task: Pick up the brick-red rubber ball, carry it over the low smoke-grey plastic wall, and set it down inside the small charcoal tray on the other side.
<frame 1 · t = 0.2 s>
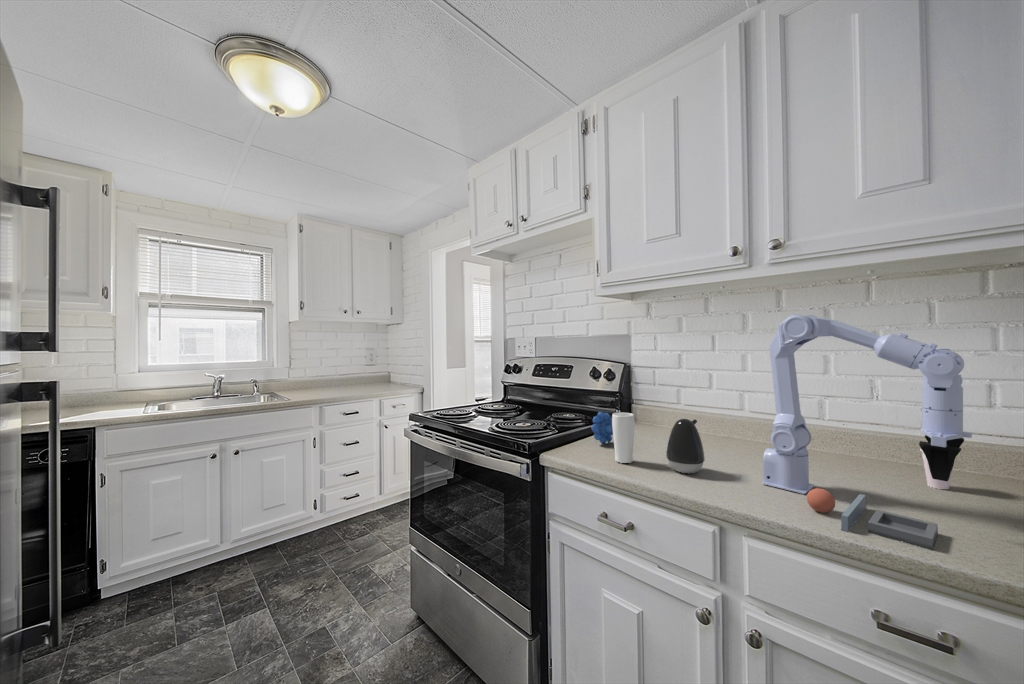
hand: (942, 475, 82), 10 cm above the worktop, tool pointing down, fingers open, 7 cm apart
low wall: (854, 518, 85), on the worktop
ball: (820, 500, 88), point 2 cm above the worktop
grapes: (605, 444, 146), on the worktop
smoothie: (938, 487, 101), on the worktop
black egg-shaped device: (685, 471, 116), on the worktop
tray: (902, 533, 78), on the worktop
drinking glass: (623, 462, 126), on the worktop
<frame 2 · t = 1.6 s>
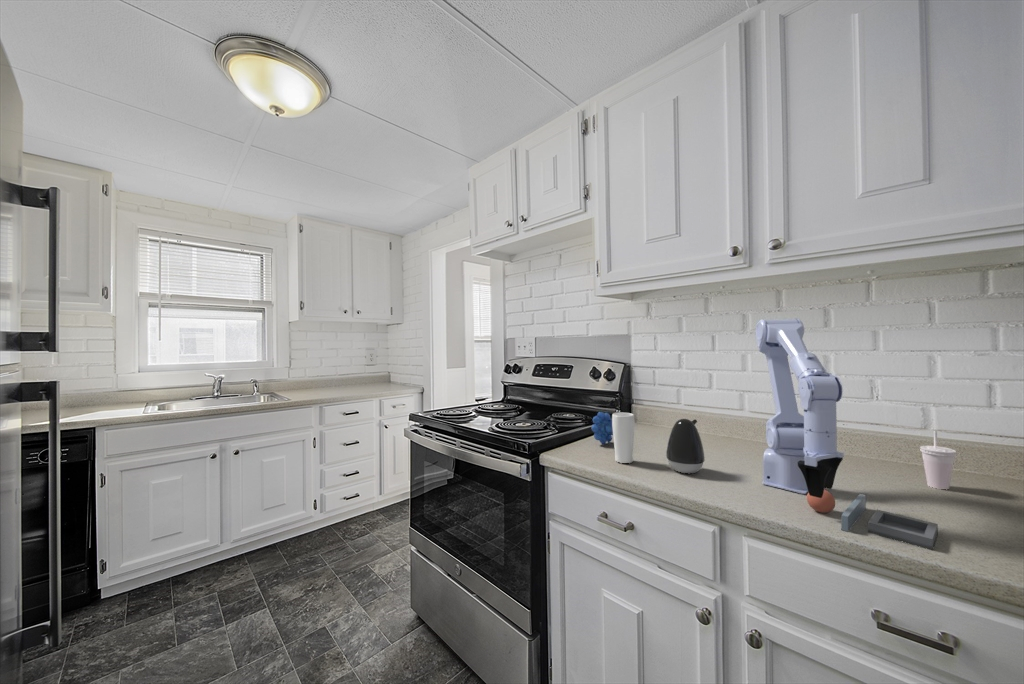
hand: (820, 491, 88), 4 cm above the worktop, tool pointing down, fingers open, 7 cm apart
nothing on the worktop moved.
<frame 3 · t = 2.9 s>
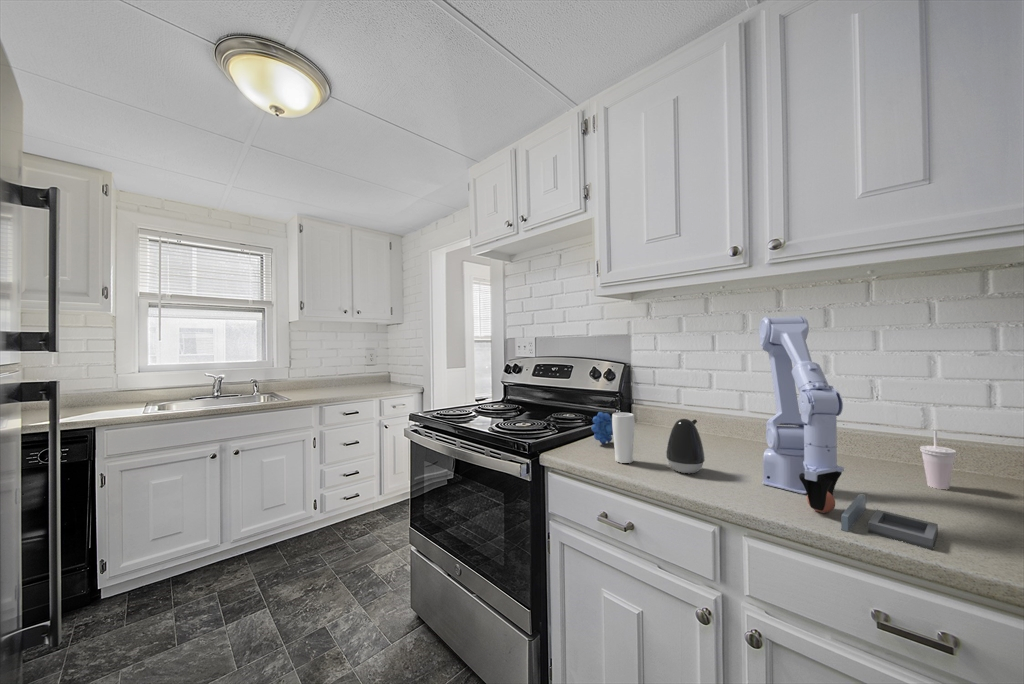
hand: (820, 505, 88), 1 cm above the worktop, tool pointing down, fingers closed on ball, 5 cm apart
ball: (820, 500, 88), point 2 cm above the worktop, touching gripper
everything else where it was.
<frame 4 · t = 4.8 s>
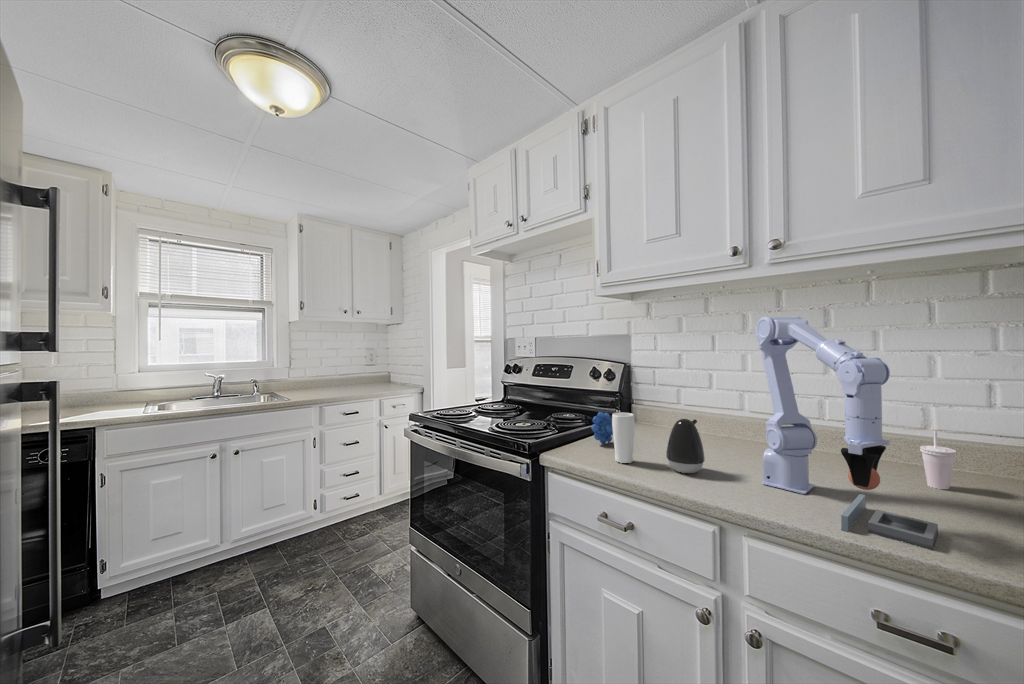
hand: (864, 482, 82), 9 cm above the worktop, tool pointing down, fingers closed on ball, 5 cm apart
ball: (863, 477, 82), point 10 cm above the worktop, touching gripper
everything else where it was.
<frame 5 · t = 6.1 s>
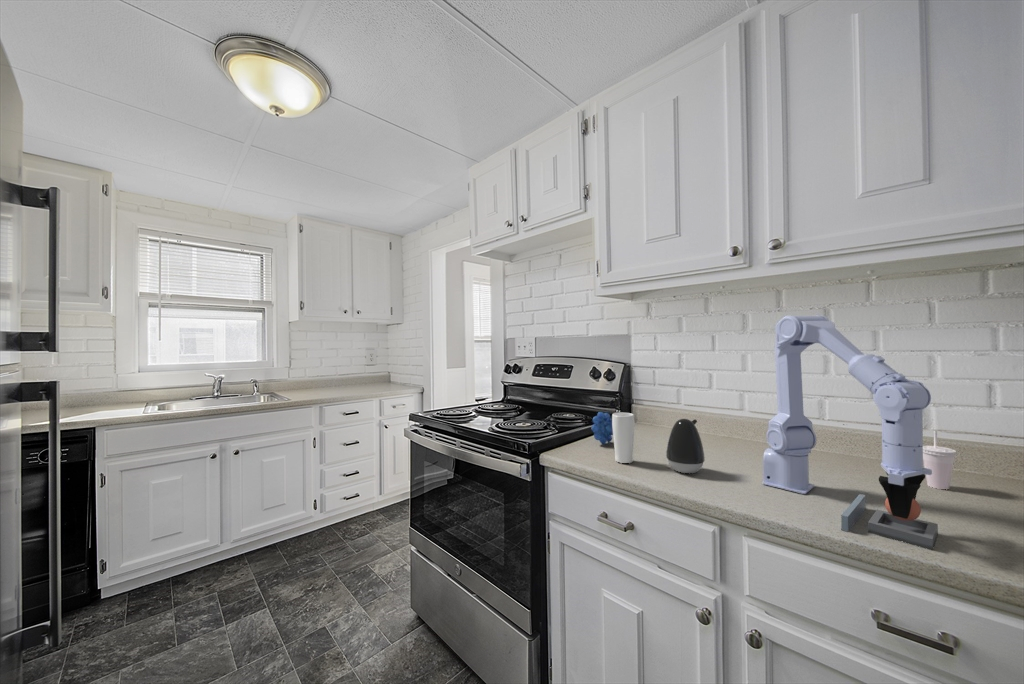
hand: (902, 512, 78), 4 cm above the worktop, tool pointing down, fingers closed on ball, 5 cm apart
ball: (902, 506, 78), point 5 cm above the worktop, touching gripper
everything else where it was.
when the fingers open (4 cm above the worktop, at t = 7.0 s): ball drops 2 cm, resting on tray.
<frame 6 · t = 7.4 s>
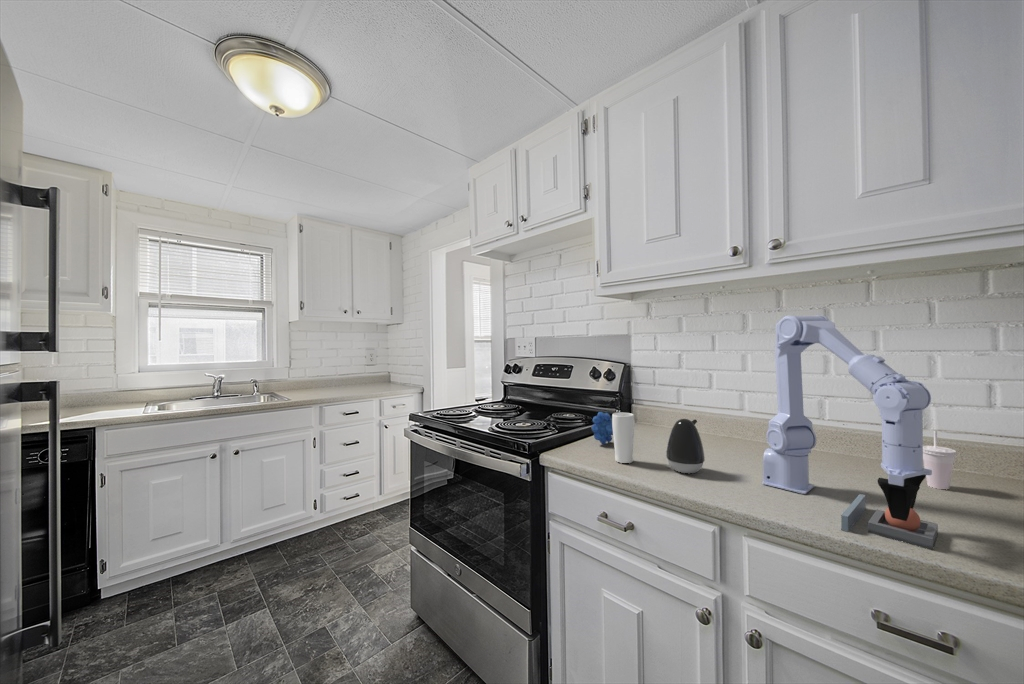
hand: (902, 512, 78), 4 cm above the worktop, tool pointing down, fingers open, 7 cm apart
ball: (902, 518, 78), point 3 cm above the worktop, tilted 8°, touching tray
everything else where it was.
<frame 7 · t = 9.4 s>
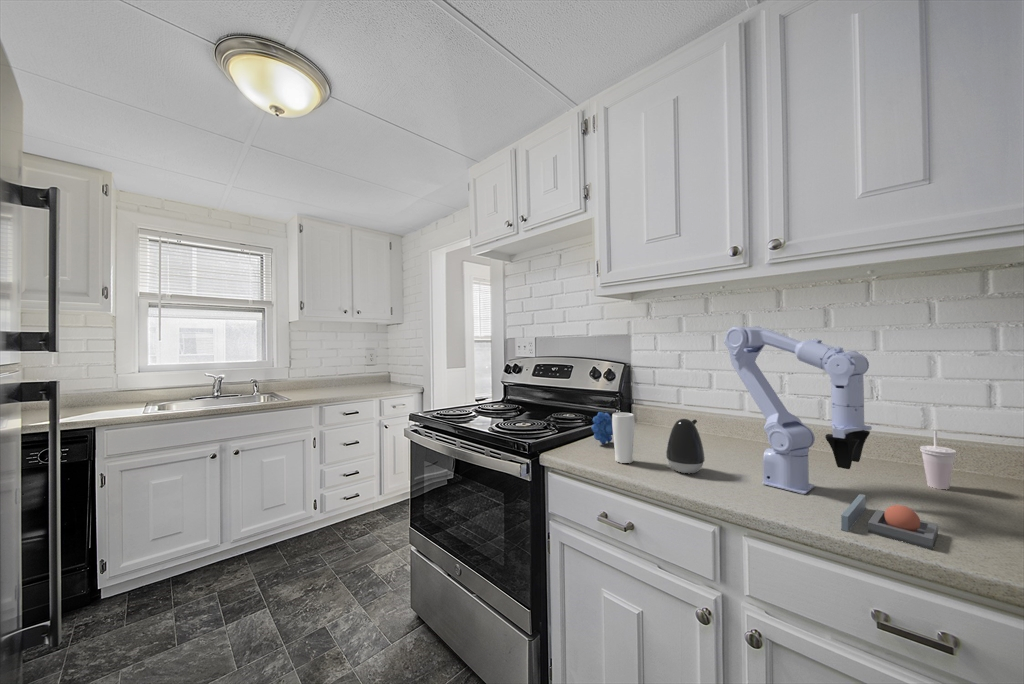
hand: (848, 464, 91), 9 cm above the worktop, tool pointing down, fingers open, 7 cm apart
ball: (901, 518, 78), point 3 cm above the worktop, tilted 21°, touching tray
everything else where it was.
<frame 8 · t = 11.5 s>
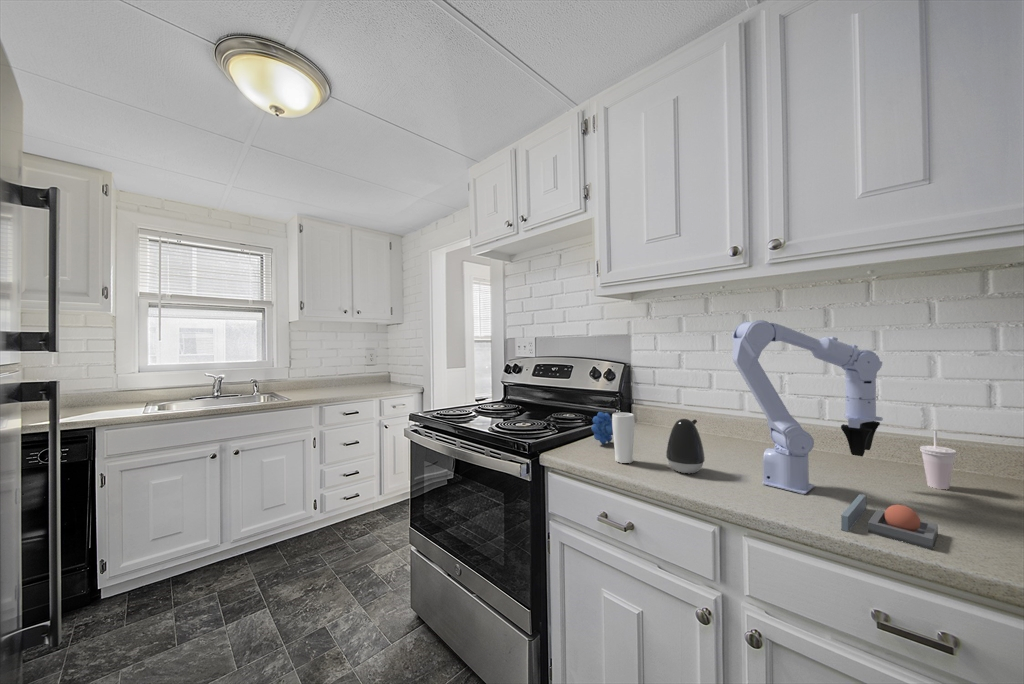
hand: (860, 452, 100), 9 cm above the worktop, tool pointing down, fingers open, 7 cm apart
nothing on the worktop moved.
at the end: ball 0.6 cm off-centre on the tray, point 3.1 cm above the tray's base; the gripper is holding nothing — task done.
